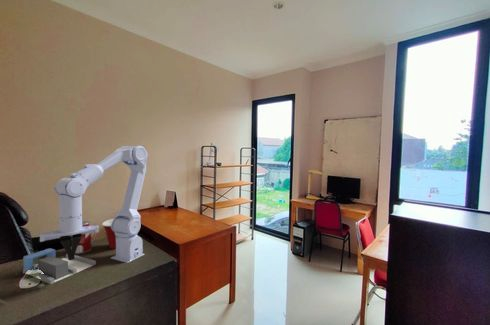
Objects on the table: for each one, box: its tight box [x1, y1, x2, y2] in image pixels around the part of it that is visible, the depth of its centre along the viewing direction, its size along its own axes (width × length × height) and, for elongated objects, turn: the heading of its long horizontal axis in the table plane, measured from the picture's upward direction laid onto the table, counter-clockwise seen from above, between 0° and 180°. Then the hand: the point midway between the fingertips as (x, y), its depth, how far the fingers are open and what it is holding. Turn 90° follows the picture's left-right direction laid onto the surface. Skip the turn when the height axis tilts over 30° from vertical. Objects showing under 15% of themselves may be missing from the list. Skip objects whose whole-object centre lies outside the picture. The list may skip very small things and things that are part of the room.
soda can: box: [75, 220, 93, 255], centre depth 95 cm, size 7×7×12 cm
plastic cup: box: [101, 217, 129, 250], centre depth 100 cm, size 11×11×12 cm
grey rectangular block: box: [37, 256, 68, 280], centre depth 76 cm, size 10×4×4 cm, turn 67°
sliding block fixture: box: [22, 248, 97, 285], centre depth 80 cm, size 16×14×6 cm
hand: (71, 258), depth 72 cm, fingers closed
